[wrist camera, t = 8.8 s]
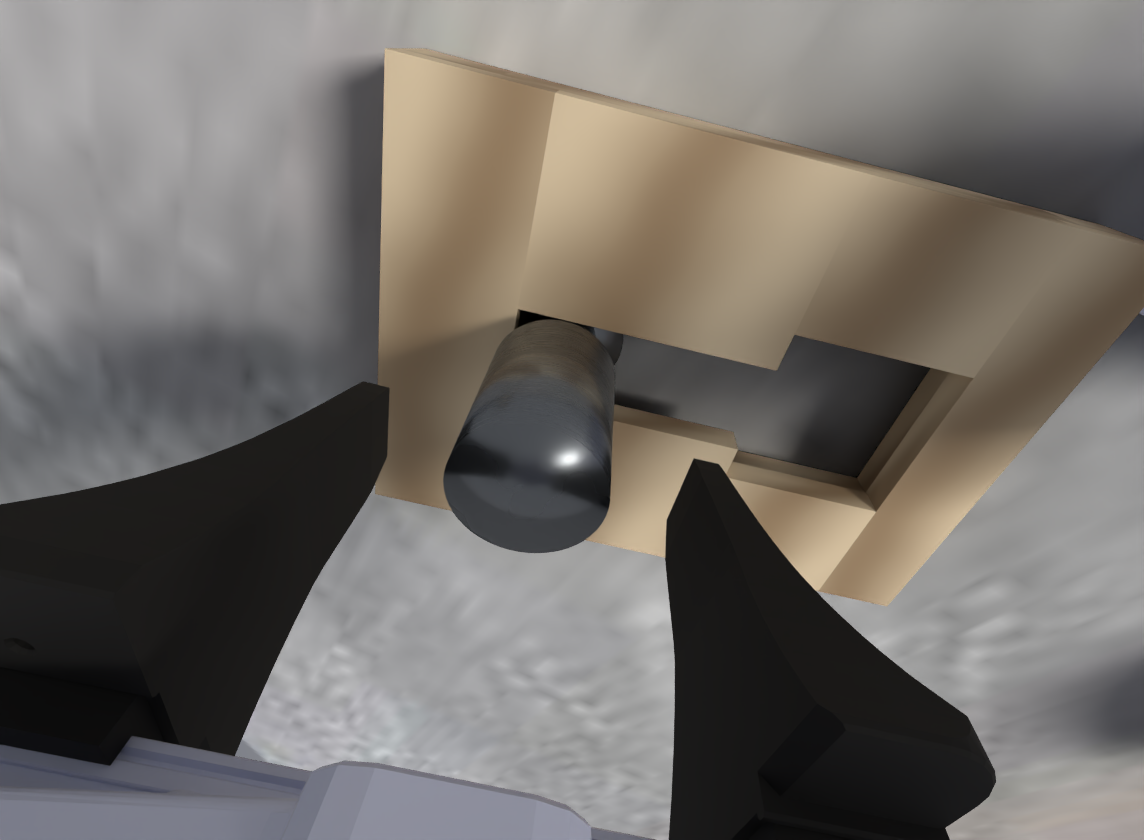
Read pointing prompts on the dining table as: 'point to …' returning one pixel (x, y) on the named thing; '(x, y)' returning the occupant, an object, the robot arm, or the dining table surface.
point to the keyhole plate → (726, 301)
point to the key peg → (538, 438)
